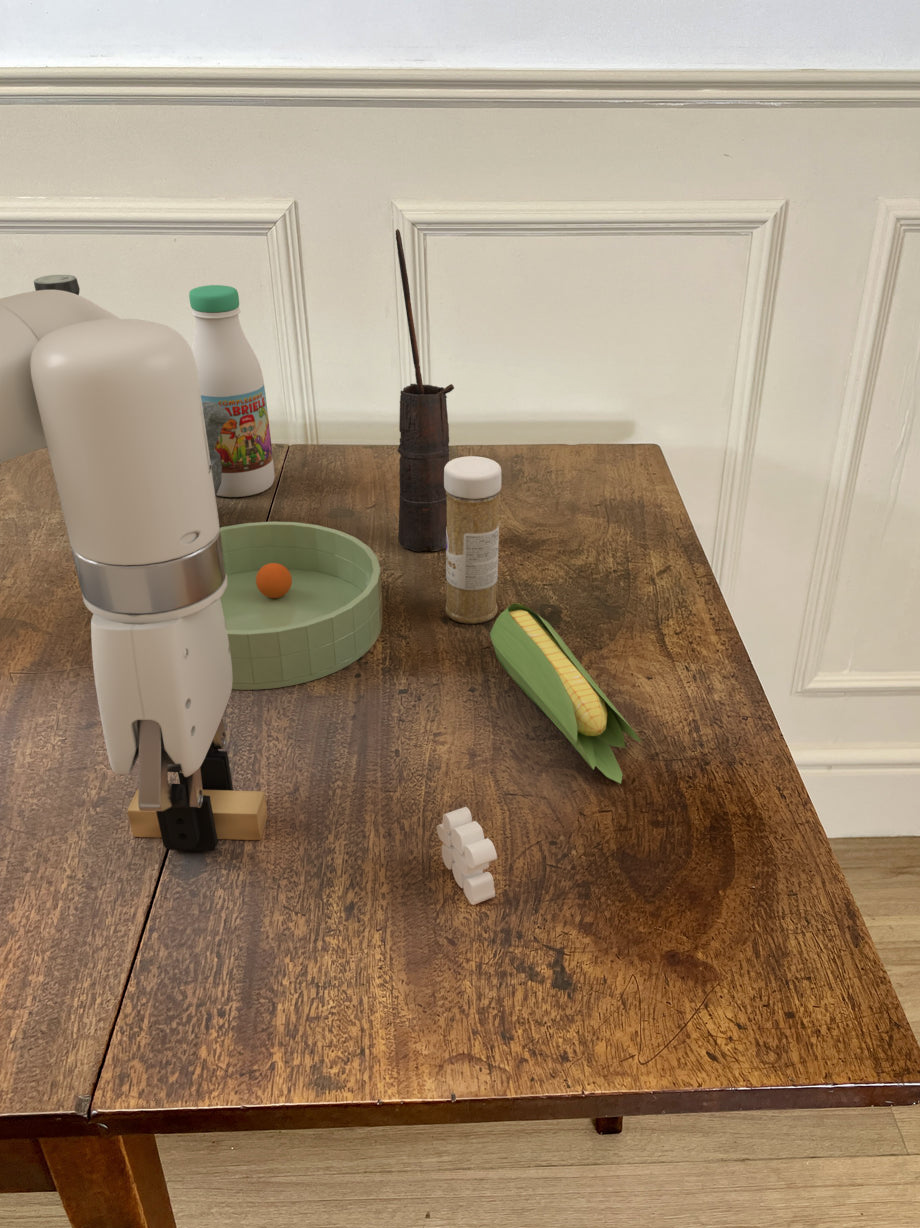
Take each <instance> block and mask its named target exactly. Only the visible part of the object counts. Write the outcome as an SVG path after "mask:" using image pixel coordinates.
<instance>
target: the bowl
mask: <svg viewBox="0 0 920 1228" xmlns="http://www.w3.org/2000/svg"><path fill="white" fill-rule="evenodd" d="M220 533H221V540H222V547H223V554H224V561H225V568H226V574H227V581H228V582H227V588H226V590H225V593H224V594H223V595H222V596H221V597H220V600H221V604H222V609H223V614H224V619H225V624H226V629H227V635H228V641H229V647H230V654H231V663H232V675H233V683H232V690H234V691H235V690H236V691H258V690H270V689H279V688H280V689H281V688H286V687H292V686H297V685H301V684H305V683H309V682H312V681H315V680H319V679H323V678H324V677H327V676H329V675H332V674H335V673H337V672H339V671H341V670H343V669H345V668H346V667H349V666H350V665H352V664H353V663H355V662H356V661H358V660H359V659H361V658H362V657H363V656H364V655H366V653H368V651H369V650H370V649H372V647H373V646H374V645H375V643H376V642H377V641H378V638H379V637H380V635H381V631H382V629H383V621H384V620H383V618H384V609H383V588H382V572H381V571H382V570H381V565H380V561H379V558H378V556H377V555H376V553H375V552H374V550H372V548H371V547H370V546H368V545H367V544H365V543H364V542H363V541H362V540H360V539H359V538H357V537H356V536H354V535H351V534H348V533H346V532H344V531H341V530H339V529H334V528H331V527H326V526H323V525H318V524H312V523H304V522H297V521H260V522H259V521H258V522H245V523H239V524H233V525H227V526H221V527H220ZM269 563H278V564H281V565H283V566H284V567H286V568H287V569H288V571H289V572H290V574H291V577H292V585H291V588H290V590H289V591H288V592H287V593H286V594H285V595H284V596H282V597H279V598H269V597H267V596H265V595H263V594H262V593H261V592H260V591H259V589H258V587H257V584H256V576H257V573H258V571H259V570H260V569H261V568H262V567H263V566H264V565H266V564H269Z"/></svg>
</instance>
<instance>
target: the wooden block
mask: <svg viewBox="0 0 920 1228" xmlns="http://www.w3.org/2000/svg"><path fill="white" fill-rule="evenodd" d="M203 795H206V796H210V800H211V805H212V811H213V817H214V822H215V828H216V833H217V839H218V840H235V841H237V840H239V841H242V840H243V841H261V839H262V836H263V833H264V831H265V827H266V824H267V821H268V809H267V802H266V795H265V791H262V790H233V791H231V790H203ZM126 814H127V817H128V821H129V825H130V829H131V834H132V838H133V837H134V838H159V839H160V838H161V839H162V836H161V831H160V827H159V822H158V818H157V813H156V811H140V810H139V806H138V788H137V789H136V790H135V793H134V795H133V797H132V799H131V801H130V804H129V805H128V808H127V809H126Z"/></svg>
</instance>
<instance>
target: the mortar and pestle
mask: <svg viewBox="0 0 920 1228" xmlns="http://www.w3.org/2000/svg"><path fill="white" fill-rule="evenodd" d="M202 407H203V414H204V421H205V428H206V435H207V442H208V449H209V456H210V463H211V470H212V477H213V484H214V491H215V498H216V496H217V495H216V494H217V492H218V490H219V487H220V485H221V478H222V465H221V458H220V454H219V453H218V452H217V451H216V450H215V446H216V443H217V441H218V438H219V435H220V433H221V430H222V427H223V425H224V424H225V423H226V422H228V420H229V418H230V414H229V413H228V411H227V410H226V409H225V408H223V407H222V406H220V405H218V404H216V403H214V402H209V401H205V402H203V403H202Z"/></svg>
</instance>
